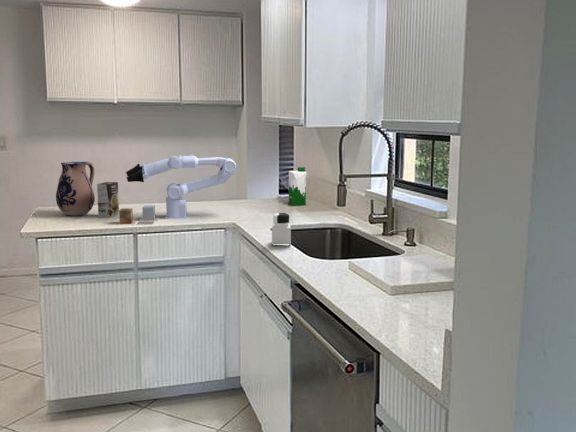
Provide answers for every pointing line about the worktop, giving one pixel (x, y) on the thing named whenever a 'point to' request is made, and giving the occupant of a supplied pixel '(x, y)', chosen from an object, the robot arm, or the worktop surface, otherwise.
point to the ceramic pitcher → (75, 189)
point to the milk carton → (297, 187)
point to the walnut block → (126, 215)
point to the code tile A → (125, 224)
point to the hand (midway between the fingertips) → (126, 176)
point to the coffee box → (108, 199)
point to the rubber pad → (144, 222)
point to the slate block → (148, 212)
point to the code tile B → (149, 220)
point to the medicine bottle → (281, 229)
